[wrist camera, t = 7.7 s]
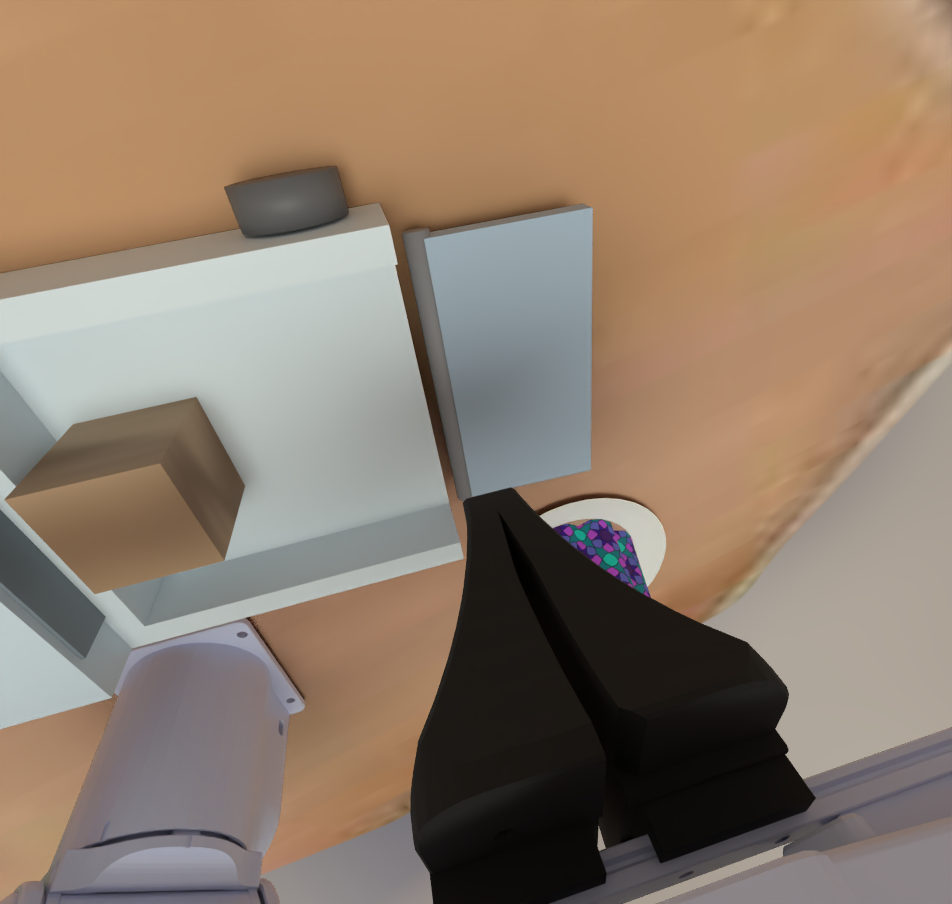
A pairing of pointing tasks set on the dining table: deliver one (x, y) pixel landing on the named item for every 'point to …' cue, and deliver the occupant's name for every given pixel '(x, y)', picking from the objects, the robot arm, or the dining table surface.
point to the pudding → (614, 537)
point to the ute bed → (221, 424)
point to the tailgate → (509, 344)
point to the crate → (134, 496)
